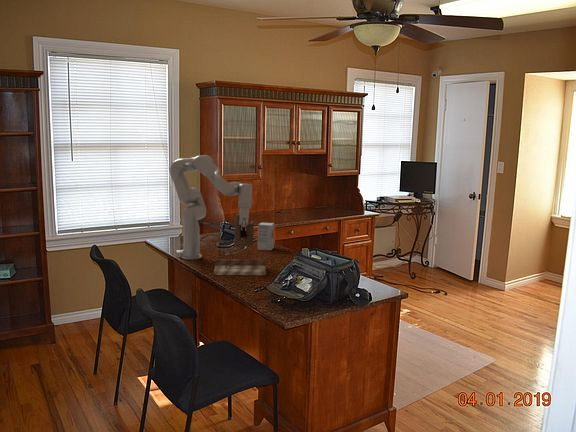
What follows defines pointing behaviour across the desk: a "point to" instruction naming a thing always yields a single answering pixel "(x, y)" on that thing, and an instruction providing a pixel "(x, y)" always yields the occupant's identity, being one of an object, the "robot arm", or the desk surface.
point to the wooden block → (249, 234)
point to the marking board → (239, 267)
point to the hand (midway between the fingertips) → (243, 236)
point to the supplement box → (266, 236)
